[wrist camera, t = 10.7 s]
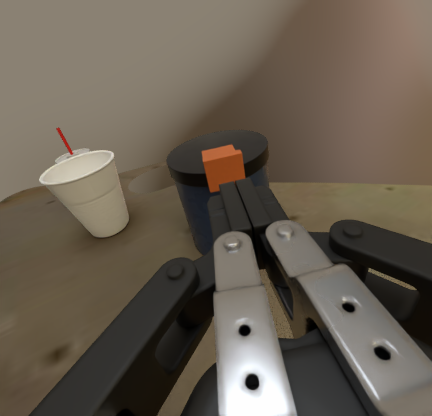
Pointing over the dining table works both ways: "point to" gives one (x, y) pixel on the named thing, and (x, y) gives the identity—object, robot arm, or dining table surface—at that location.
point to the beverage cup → (70, 153)
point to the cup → (90, 191)
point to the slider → (222, 166)
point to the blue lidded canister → (197, 181)
